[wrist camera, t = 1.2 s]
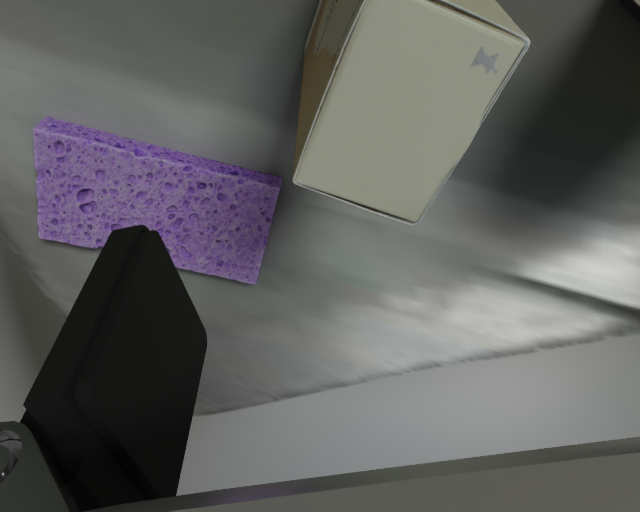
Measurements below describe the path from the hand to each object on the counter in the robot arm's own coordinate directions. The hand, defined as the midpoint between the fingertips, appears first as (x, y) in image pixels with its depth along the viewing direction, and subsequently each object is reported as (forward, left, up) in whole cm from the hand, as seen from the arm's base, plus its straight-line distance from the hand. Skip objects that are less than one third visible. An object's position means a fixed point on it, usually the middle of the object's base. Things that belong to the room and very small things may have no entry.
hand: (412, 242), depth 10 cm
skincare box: (0, 0, -18) cm, 18 cm away
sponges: (+13, +8, -18) cm, 24 cm away
